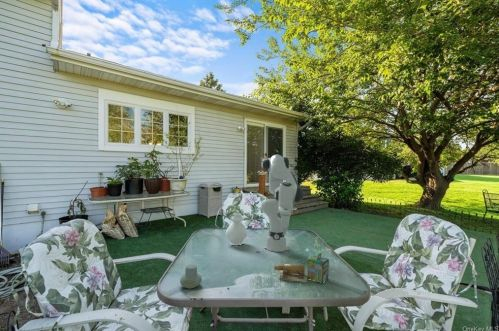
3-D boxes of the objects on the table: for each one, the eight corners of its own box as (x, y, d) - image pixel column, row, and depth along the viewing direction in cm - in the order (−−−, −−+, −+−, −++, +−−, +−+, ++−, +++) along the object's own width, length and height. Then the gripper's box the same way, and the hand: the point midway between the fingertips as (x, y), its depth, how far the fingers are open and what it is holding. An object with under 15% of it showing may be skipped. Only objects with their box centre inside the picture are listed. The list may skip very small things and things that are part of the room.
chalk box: (313, 274, 147) (314, 249, 147) (329, 279, 141) (329, 252, 142) (306, 279, 140) (307, 253, 140) (322, 284, 134) (322, 257, 134)
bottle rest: (279, 272, 149) (280, 264, 149) (305, 274, 147) (305, 265, 147) (279, 280, 138) (279, 271, 138) (307, 282, 136) (307, 273, 136)
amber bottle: (274, 264, 148) (274, 261, 144) (303, 266, 145) (304, 264, 141) (274, 273, 145) (274, 271, 141) (304, 275, 142) (304, 273, 138)
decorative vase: (247, 247, 196) (247, 215, 197) (224, 247, 196) (225, 215, 197) (247, 241, 214) (248, 212, 214) (227, 240, 214) (227, 211, 215)
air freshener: (202, 282, 134) (203, 263, 134) (200, 289, 125) (200, 269, 126) (182, 282, 133) (182, 263, 133) (178, 289, 125) (178, 269, 125)
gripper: (280, 205, 162) (279, 227, 162) (280, 212, 142) (279, 236, 142) (290, 206, 161) (289, 227, 162) (291, 213, 141) (290, 237, 141)
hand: (284, 231), depth 152 cm, fingers open, 8 cm apart
